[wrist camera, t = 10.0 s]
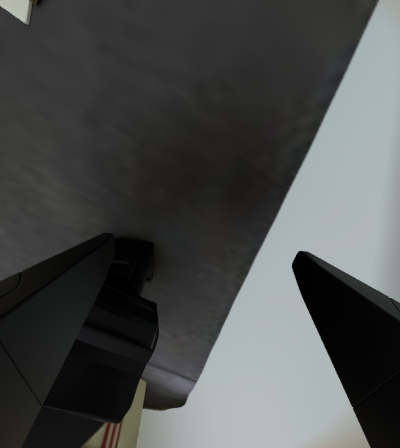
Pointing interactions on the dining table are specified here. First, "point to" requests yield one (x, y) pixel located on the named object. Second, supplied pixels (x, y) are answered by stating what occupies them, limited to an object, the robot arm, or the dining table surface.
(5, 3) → the grey mat
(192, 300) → the dining table surface
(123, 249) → the robot arm
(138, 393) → the gift box
